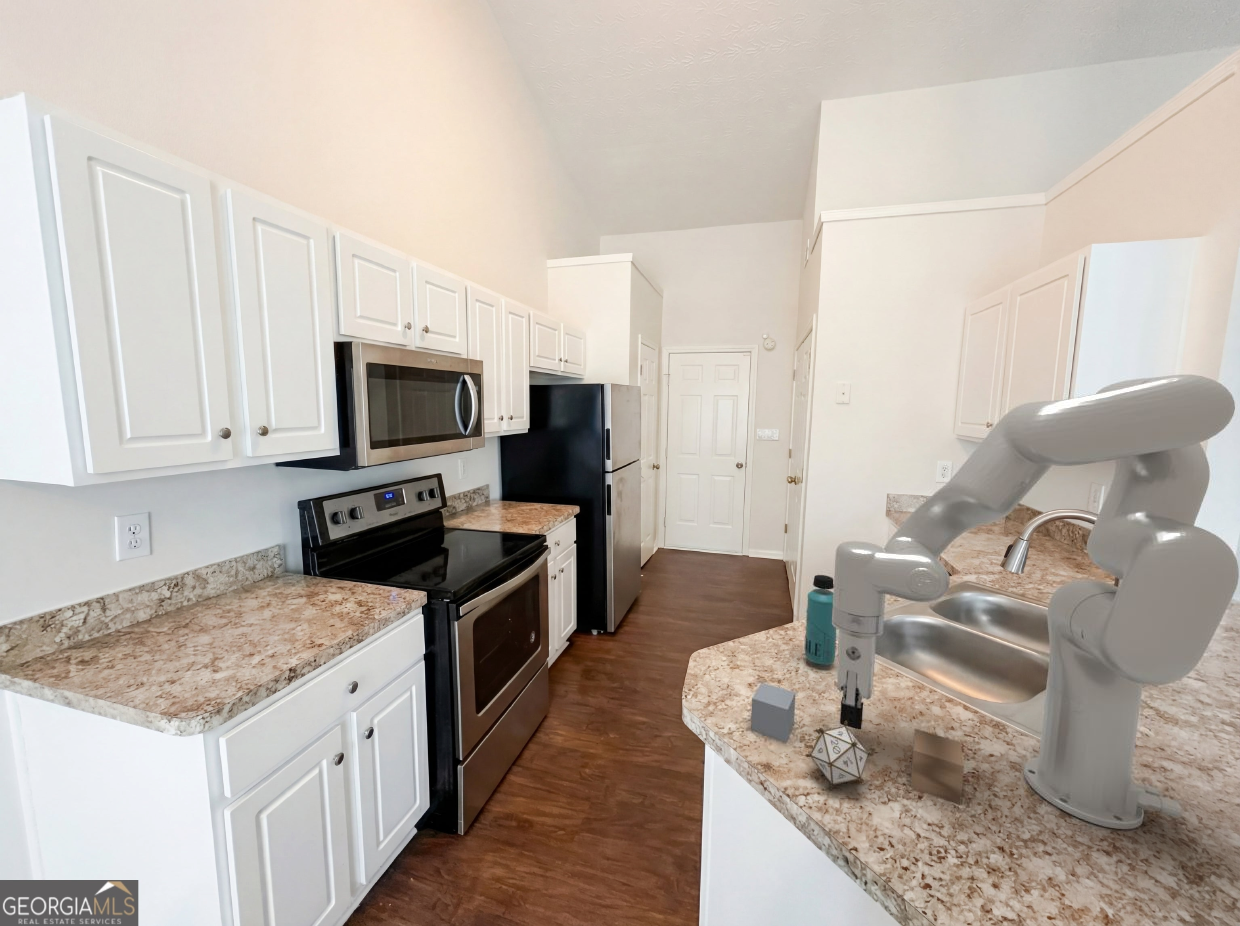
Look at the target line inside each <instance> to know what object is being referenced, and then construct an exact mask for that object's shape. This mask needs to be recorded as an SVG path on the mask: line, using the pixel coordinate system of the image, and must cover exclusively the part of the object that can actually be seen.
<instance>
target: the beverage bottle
mask: <svg viewBox="0 0 1240 926" xmlns="http://www.w3.org/2000/svg"><path fill="white" fill-rule="evenodd" d="M812 585H813V587H815V588H814V589H812V590H811V591H810V592H808V593H807V605H806V611H805V612H806V621H805V623H806V626H805V634H804V637H805V641H804V647H803V648H804V655H805V658H806V659H807V660H809V662H813V663H815V664H817V665H818V664H819V665H831V664H833V663H835V659H836V653H837V651H836V650H837V649H836V648H837V647H836V646H837V638H838V637H837V636H838V635H837V629H836V628H835V627H834V626H833V625H832V611H833V593H834V591H831V590H834V578H833V577H831V576H829V575H825V574H824V575H823V574H817V575H814V577H813V582H812Z"/></svg>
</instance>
